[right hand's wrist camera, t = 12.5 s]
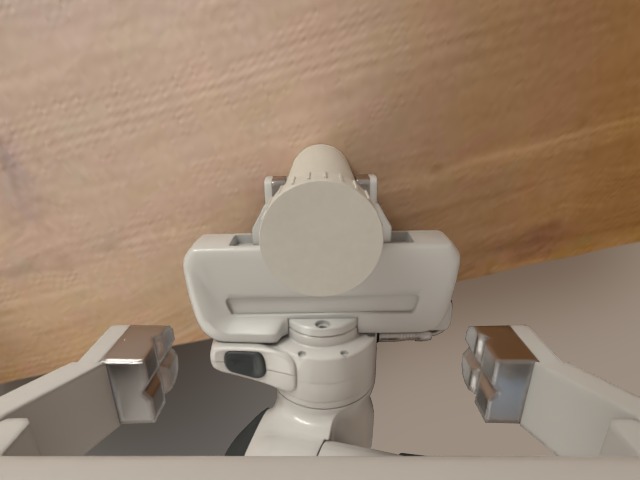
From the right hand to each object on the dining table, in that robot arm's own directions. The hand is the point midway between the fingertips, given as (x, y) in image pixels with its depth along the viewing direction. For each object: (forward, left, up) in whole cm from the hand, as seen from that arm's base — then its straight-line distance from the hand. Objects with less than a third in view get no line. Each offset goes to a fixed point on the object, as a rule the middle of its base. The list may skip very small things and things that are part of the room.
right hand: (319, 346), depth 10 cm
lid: (0, 0, -8) cm, 8 cm away
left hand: (-1, -1, -18) cm, 18 cm away
